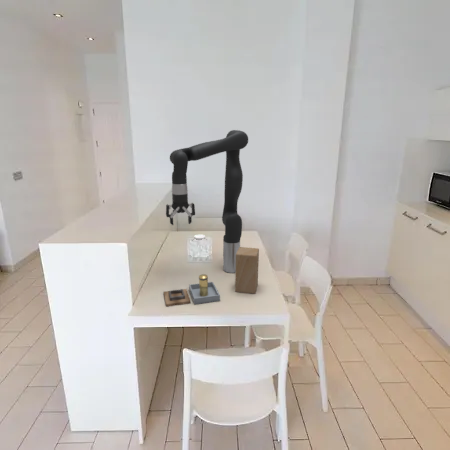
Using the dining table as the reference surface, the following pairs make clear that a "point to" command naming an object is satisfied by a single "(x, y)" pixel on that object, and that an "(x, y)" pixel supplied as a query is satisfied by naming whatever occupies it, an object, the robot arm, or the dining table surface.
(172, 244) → the dining table surface
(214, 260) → the dining table surface
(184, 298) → the pin dock
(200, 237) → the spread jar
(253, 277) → the wooden block
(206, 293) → the pin
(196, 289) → the tray
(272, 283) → the dining table surface
